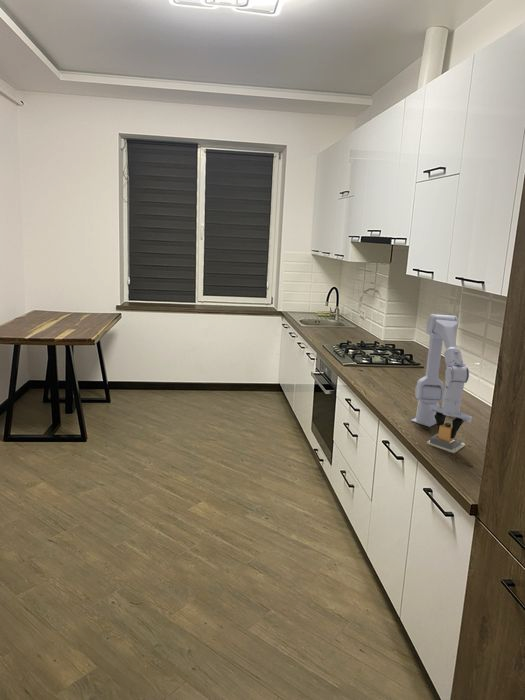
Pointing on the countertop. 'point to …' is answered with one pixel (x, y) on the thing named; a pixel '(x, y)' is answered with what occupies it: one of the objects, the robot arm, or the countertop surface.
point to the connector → (445, 432)
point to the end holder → (446, 444)
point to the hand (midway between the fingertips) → (446, 435)
